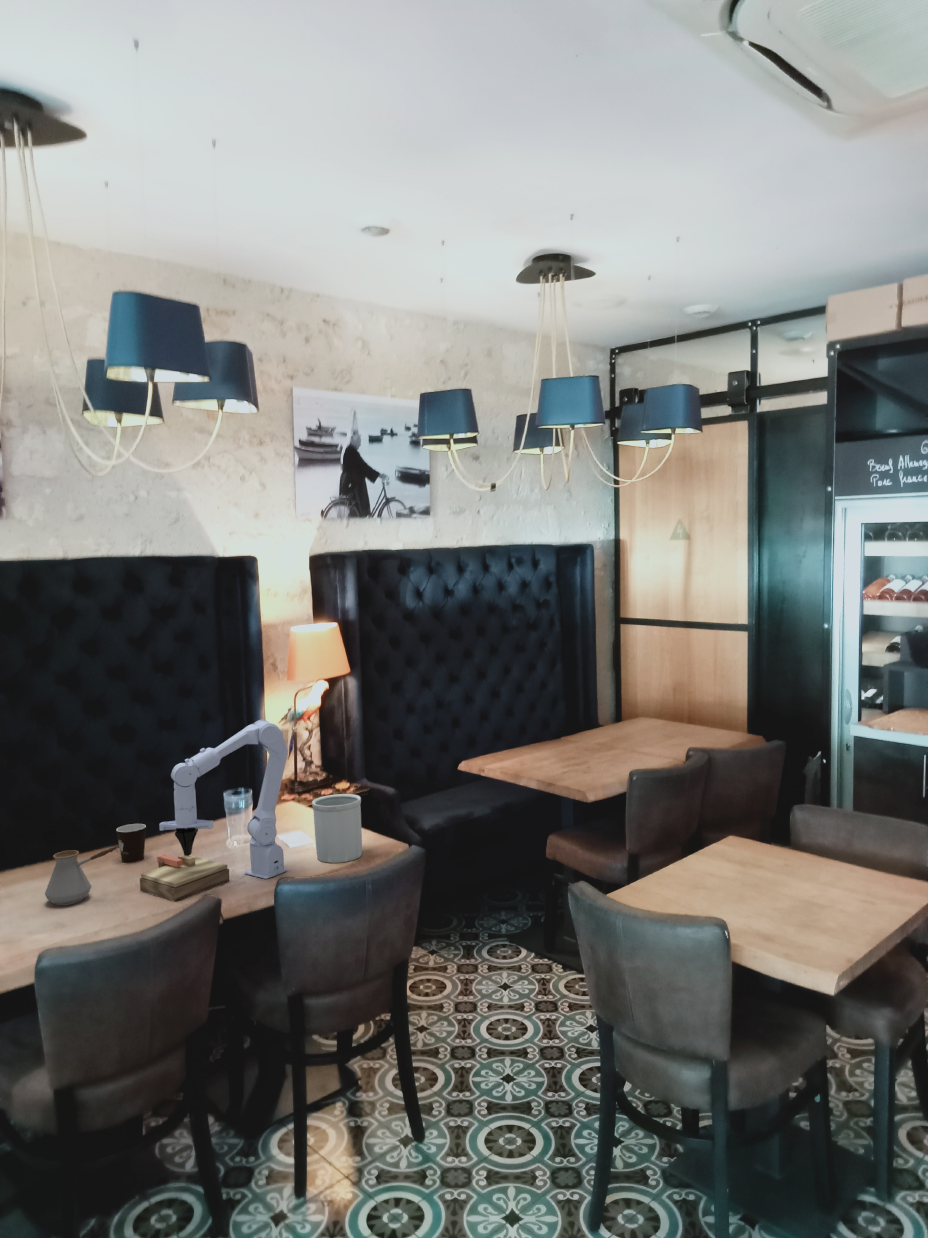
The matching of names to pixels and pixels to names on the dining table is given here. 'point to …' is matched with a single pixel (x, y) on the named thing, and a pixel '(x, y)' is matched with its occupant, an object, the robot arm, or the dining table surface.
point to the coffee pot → (70, 878)
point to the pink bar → (170, 860)
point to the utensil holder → (338, 827)
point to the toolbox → (184, 885)
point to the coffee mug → (131, 842)
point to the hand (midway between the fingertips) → (187, 854)
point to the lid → (184, 871)
